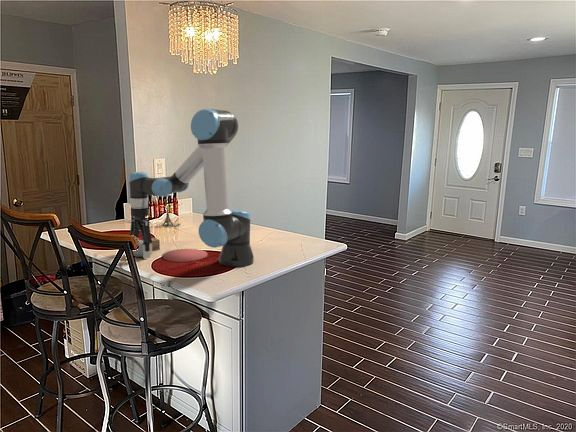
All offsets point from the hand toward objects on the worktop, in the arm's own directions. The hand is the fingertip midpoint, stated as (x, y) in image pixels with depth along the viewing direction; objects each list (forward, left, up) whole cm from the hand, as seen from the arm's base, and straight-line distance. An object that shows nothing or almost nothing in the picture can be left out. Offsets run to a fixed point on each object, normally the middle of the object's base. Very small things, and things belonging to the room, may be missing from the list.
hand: (141, 255), depth 198 cm
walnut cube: (+8, -9, -1) cm, 12 cm away
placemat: (-11, -16, -1) cm, 19 cm away
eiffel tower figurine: (+54, -40, -1) cm, 67 cm away
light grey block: (+1, -1, -1) cm, 1 cm away
